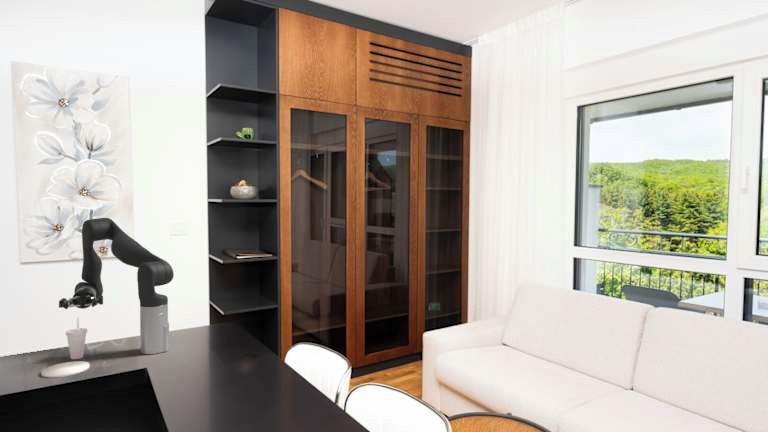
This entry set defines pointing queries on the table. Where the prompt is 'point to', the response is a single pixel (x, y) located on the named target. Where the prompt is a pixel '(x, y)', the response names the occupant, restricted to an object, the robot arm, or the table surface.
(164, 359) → the table surface
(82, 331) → the smoothie
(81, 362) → the plate
